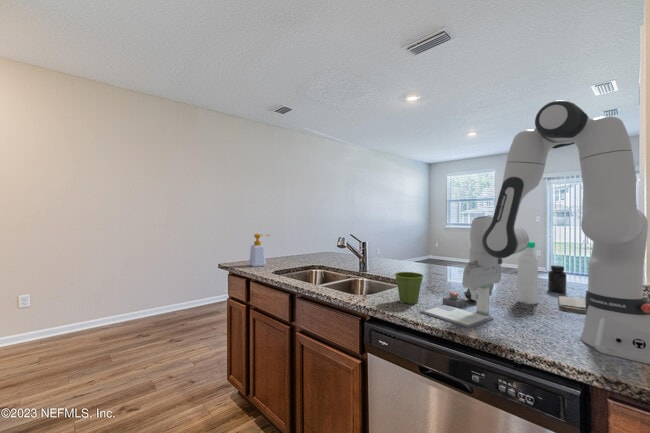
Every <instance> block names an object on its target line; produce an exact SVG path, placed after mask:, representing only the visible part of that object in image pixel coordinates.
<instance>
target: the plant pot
mask: <svg viewBox="0 0 650 433" xmlns="http://www.w3.org/2000/svg"><path fill="white" fill-rule="evenodd" d="M393 275H394V276H395V280H396V281H395V282H396V284H397V292H398V297H399V302H401V303H403V304H408V305H414V304H417V303H418V302H419V298H420V291H421V285H422V282H423V278H424V277H425V275H424V274H422V273H419V272H414V271H399V272H398V271H397V272H395V273H394V274H393Z"/></svg>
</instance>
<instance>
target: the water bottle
mask: <svg viewBox="0 0 650 433" xmlns="http://www.w3.org/2000/svg"><path fill="white" fill-rule="evenodd" d="M535 248H536V242H534V241H529V243H528V246H527V247H526V248H525V249H524V250H523V251H521V252H519V253H520V254H519V255H518V256H517V262H518V264H517V283H518V284H517V296H516V297H517V299H516V300H517V302H519V303H521V304H524V305H525V304H526V305H537V304H538V303H539V296H538V293H539V285H538V283H539V264H538V263H539V258H538V256H537V255H536V252H535V251H534V250H535Z"/></svg>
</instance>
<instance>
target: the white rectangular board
mask: <svg viewBox="0 0 650 433" xmlns="http://www.w3.org/2000/svg"><path fill="white" fill-rule="evenodd" d="M419 313H421V314H422V315H426V316H430V317H432V318H434V319H435V318H436V319H439V320H442V321H444V322H449V323H451V324H455V325H457V326H461V327H463V328H467V329H471V328H474V327H477V326H479V325H482V324H485V323H488V322H489V321H492V320H494V317H491V316H488V315H483V314H479V313H477V312H473V311H470V310H466V309H463V308H460V307H458V308H456V307H452V306H449V305H445V304H444V305H443V304H441V305H440V304H439V305H438V306H433V307H429V308H427V309H422V310H419Z"/></svg>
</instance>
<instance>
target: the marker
mask: <svg viewBox="0 0 650 433" xmlns="http://www.w3.org/2000/svg"><path fill="white" fill-rule="evenodd" d="M489 288H490V285H486V286H483V287H479V288H477V291H476V292H477V295H478V299H477V300H476V301H477V304H476V313H477V314H481V315H485V316H488V315H490V296H489Z"/></svg>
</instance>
